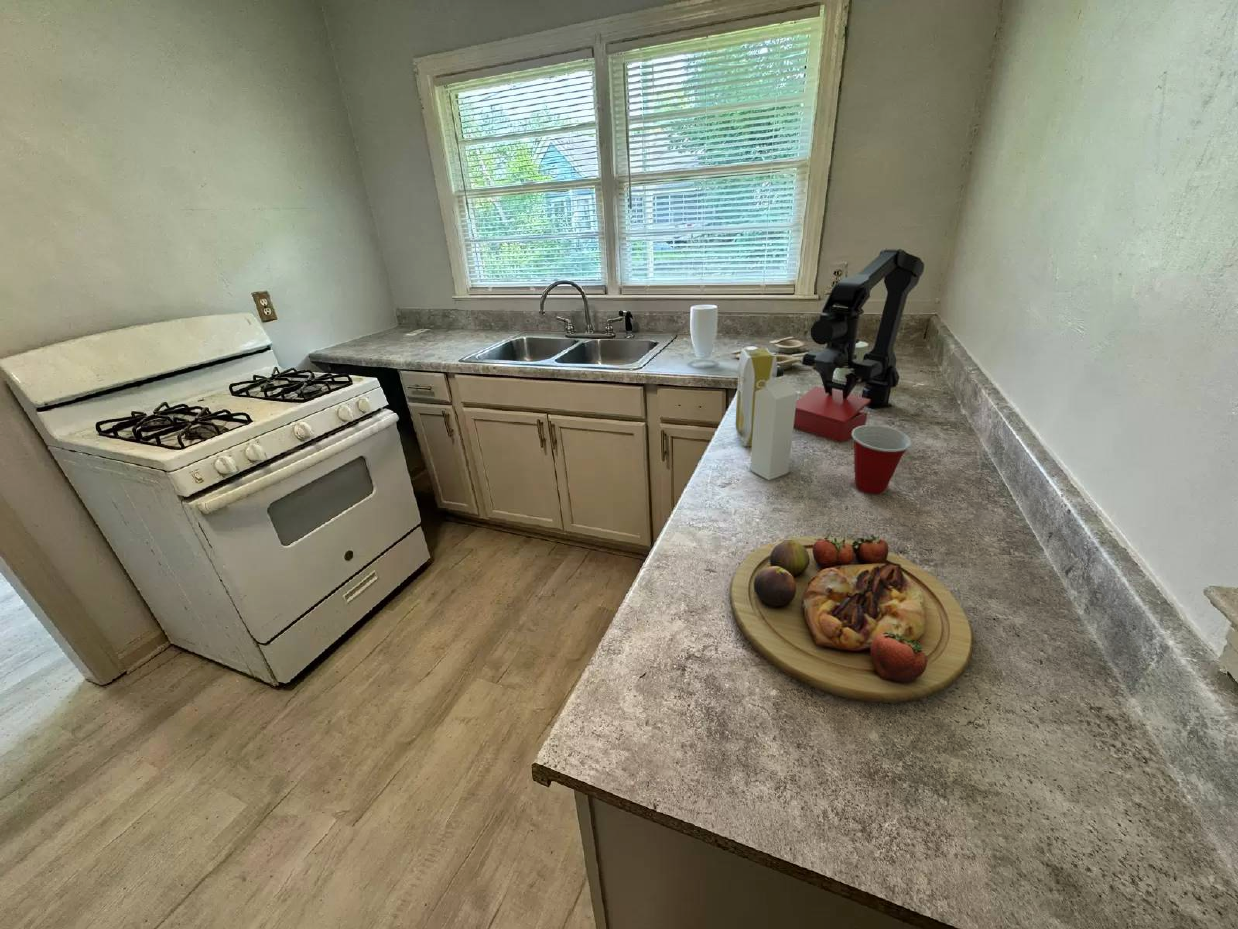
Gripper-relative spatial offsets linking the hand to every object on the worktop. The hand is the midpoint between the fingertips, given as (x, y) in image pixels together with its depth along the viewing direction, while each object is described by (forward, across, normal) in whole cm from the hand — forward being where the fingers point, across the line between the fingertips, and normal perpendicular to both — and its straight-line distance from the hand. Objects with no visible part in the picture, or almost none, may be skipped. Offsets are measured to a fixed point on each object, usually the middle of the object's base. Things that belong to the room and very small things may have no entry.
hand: (836, 395), depth 129 cm
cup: (+9, -66, +18) cm, 70 cm away
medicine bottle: (+8, -20, -1) cm, 22 cm away
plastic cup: (+8, +24, -24) cm, 35 cm away
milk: (+7, +6, -34) cm, 35 cm away
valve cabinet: (+8, 0, -3) cm, 9 cm away
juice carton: (+8, -8, -23) cm, 25 cm away
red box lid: (+2, 0, -3) cm, 4 cm away
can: (+10, -19, +38) cm, 44 cm away
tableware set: (+10, -48, +44) cm, 66 cm away
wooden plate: (+6, +40, -61) cm, 73 cm away
